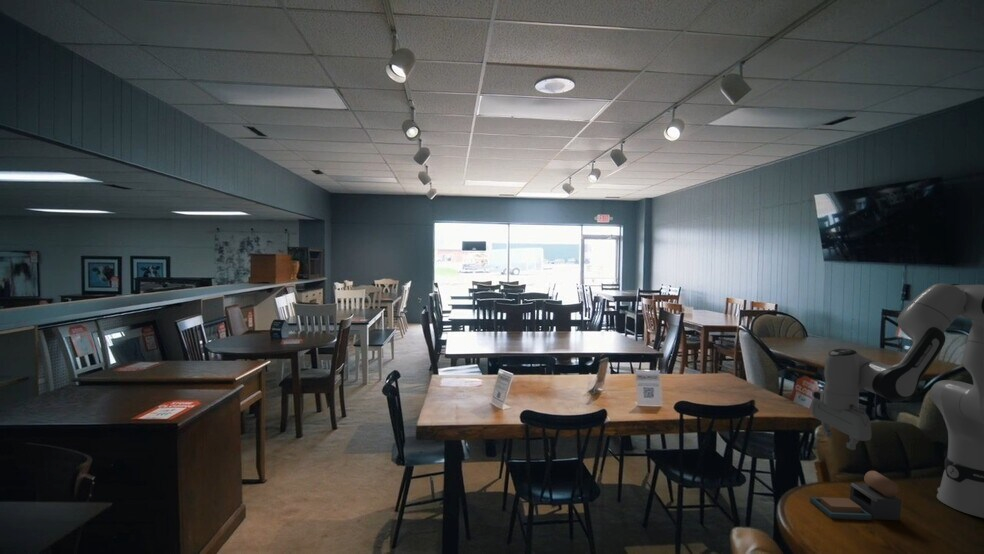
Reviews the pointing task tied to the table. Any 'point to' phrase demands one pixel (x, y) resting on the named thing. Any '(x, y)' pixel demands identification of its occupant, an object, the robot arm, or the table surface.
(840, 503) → the ticket
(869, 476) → the dispenser
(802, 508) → the table surface
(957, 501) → the robot arm
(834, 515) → the tray
